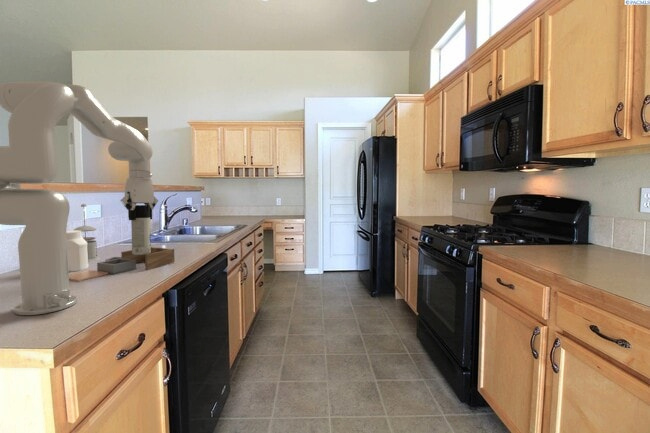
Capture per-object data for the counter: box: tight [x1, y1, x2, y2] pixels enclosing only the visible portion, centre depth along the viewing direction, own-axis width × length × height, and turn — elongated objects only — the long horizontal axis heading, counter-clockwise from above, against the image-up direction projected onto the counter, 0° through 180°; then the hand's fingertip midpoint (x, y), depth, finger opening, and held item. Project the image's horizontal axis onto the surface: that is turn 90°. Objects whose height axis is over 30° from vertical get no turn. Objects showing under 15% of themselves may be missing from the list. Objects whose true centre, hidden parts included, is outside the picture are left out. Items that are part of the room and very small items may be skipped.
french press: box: [73, 203, 101, 263], centre depth 136 cm, size 10×12×25 cm
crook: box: [105, 256, 122, 261], centre depth 135 cm, size 14×6×1 cm, turn 91°
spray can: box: [130, 204, 152, 255], centre depth 126 cm, size 7×7×20 cm
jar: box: [66, 229, 90, 273], centre depth 120 cm, size 12×10×15 cm
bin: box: [96, 258, 137, 275], centre depth 120 cm, size 9×9×4 cm
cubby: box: [120, 246, 175, 271], centre depth 130 cm, size 14×13×6 cm
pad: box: [69, 269, 109, 282], centre depth 112 cm, size 10×10×1 cm
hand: (140, 219), depth 125 cm, fingers closed on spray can, 6 cm apart
